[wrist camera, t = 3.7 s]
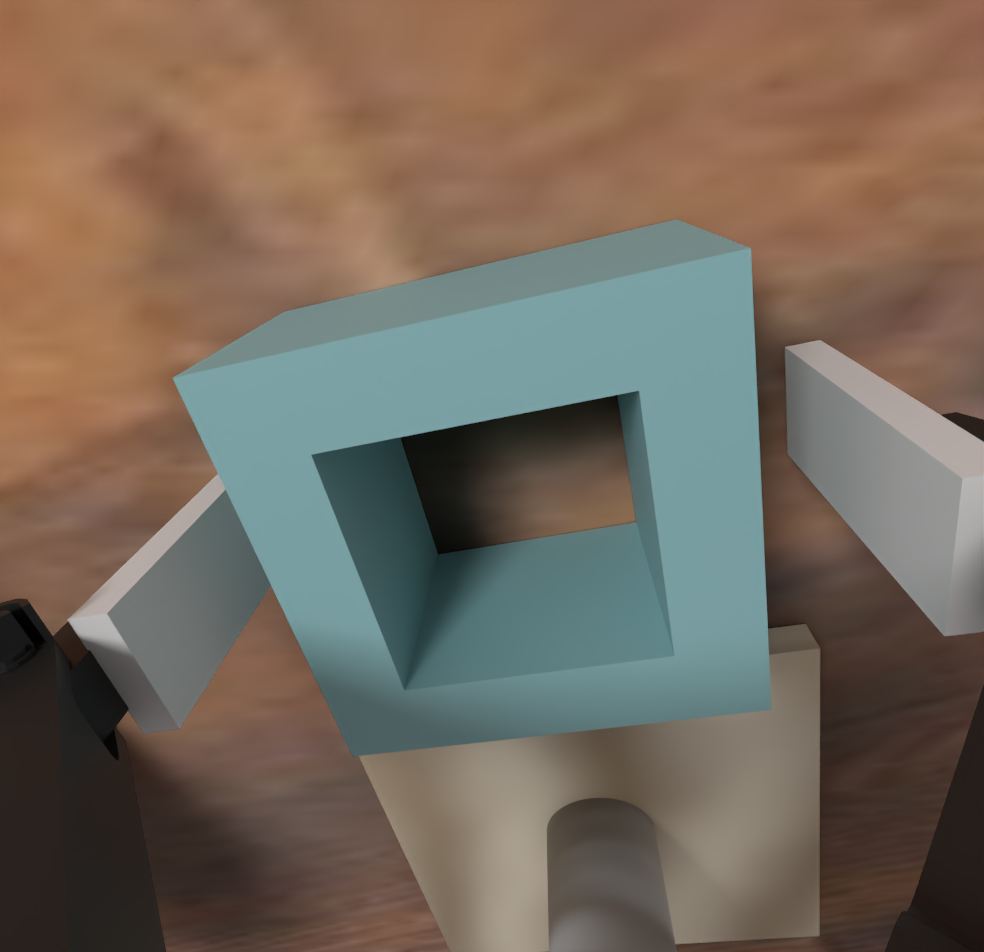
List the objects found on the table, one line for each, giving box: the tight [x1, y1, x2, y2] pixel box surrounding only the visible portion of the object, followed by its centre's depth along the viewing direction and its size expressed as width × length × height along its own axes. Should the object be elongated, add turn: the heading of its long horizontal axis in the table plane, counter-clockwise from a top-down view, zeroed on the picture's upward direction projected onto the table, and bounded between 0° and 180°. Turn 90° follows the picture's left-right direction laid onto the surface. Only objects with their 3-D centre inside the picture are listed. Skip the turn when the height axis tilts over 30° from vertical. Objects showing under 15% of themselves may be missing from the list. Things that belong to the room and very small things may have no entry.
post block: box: [359, 624, 820, 952], centre depth 18 cm, size 14×14×8 cm
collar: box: [173, 219, 771, 757], centre depth 13 cm, size 9×9×5 cm
